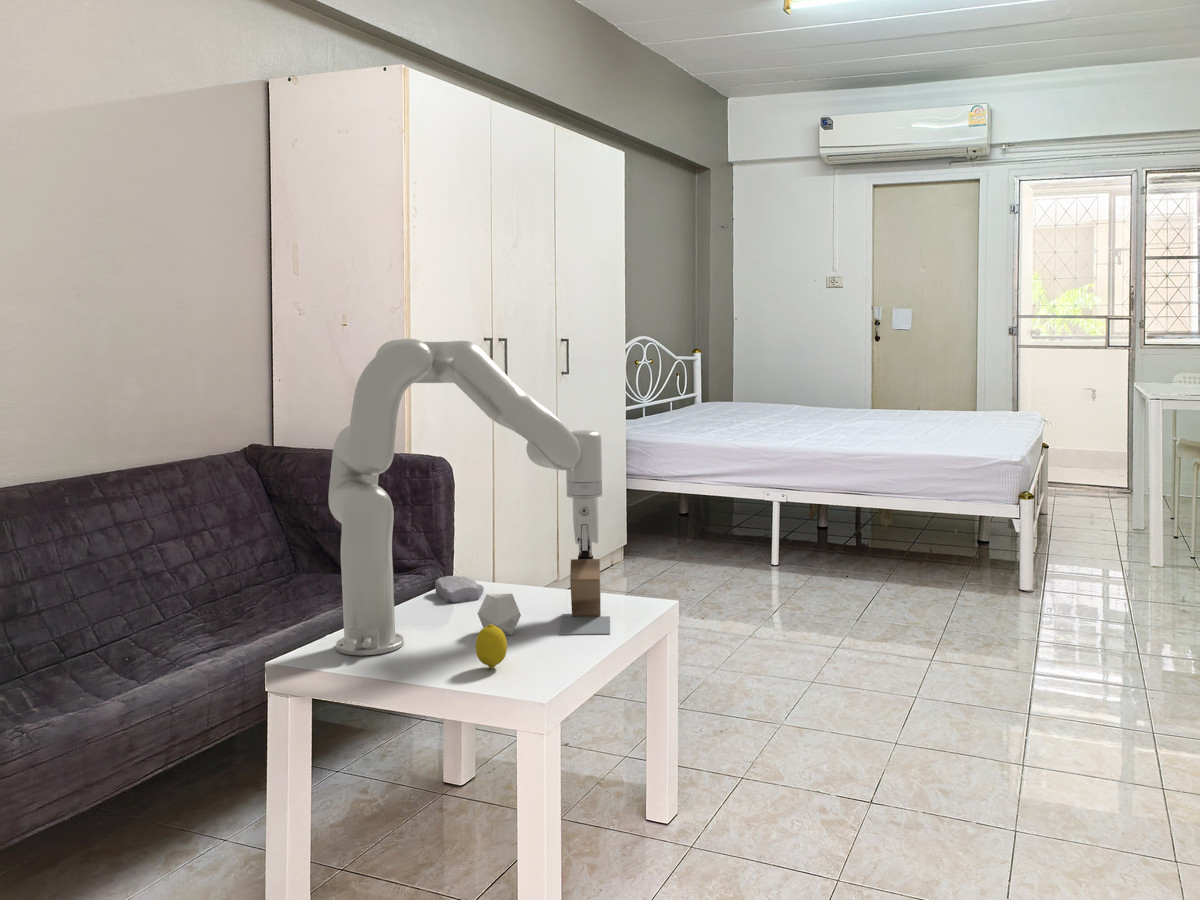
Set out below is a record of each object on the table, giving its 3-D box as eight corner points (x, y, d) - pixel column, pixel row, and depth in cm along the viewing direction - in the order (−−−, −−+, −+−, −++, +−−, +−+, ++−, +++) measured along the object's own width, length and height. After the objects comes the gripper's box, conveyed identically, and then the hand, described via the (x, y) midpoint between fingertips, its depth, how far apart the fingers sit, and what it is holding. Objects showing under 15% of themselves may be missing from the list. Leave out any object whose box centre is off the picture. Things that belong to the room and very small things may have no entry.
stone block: (471, 596, 232) (431, 593, 228) (474, 576, 232) (434, 573, 228) (487, 609, 222) (445, 606, 217) (491, 588, 222) (449, 585, 217)
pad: (610, 634, 192) (610, 633, 192) (559, 635, 192) (559, 634, 192) (610, 617, 204) (610, 616, 204) (562, 617, 204) (562, 616, 204)
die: (503, 645, 188) (529, 602, 190) (465, 622, 189) (491, 579, 191) (506, 648, 196) (531, 606, 198) (470, 626, 197) (495, 585, 199)
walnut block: (600, 616, 205) (599, 579, 198) (572, 617, 205) (570, 579, 198) (600, 595, 210) (599, 558, 203) (572, 596, 210) (570, 558, 203)
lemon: (508, 662, 175) (507, 619, 174) (506, 673, 170) (505, 628, 169) (477, 663, 175) (476, 620, 174) (474, 673, 169) (473, 629, 169)
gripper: (602, 493, 198) (603, 582, 200) (602, 484, 213) (603, 566, 215) (565, 494, 198) (566, 582, 200) (567, 484, 213) (569, 567, 215)
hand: (585, 574), depth 207 cm, fingers closed
